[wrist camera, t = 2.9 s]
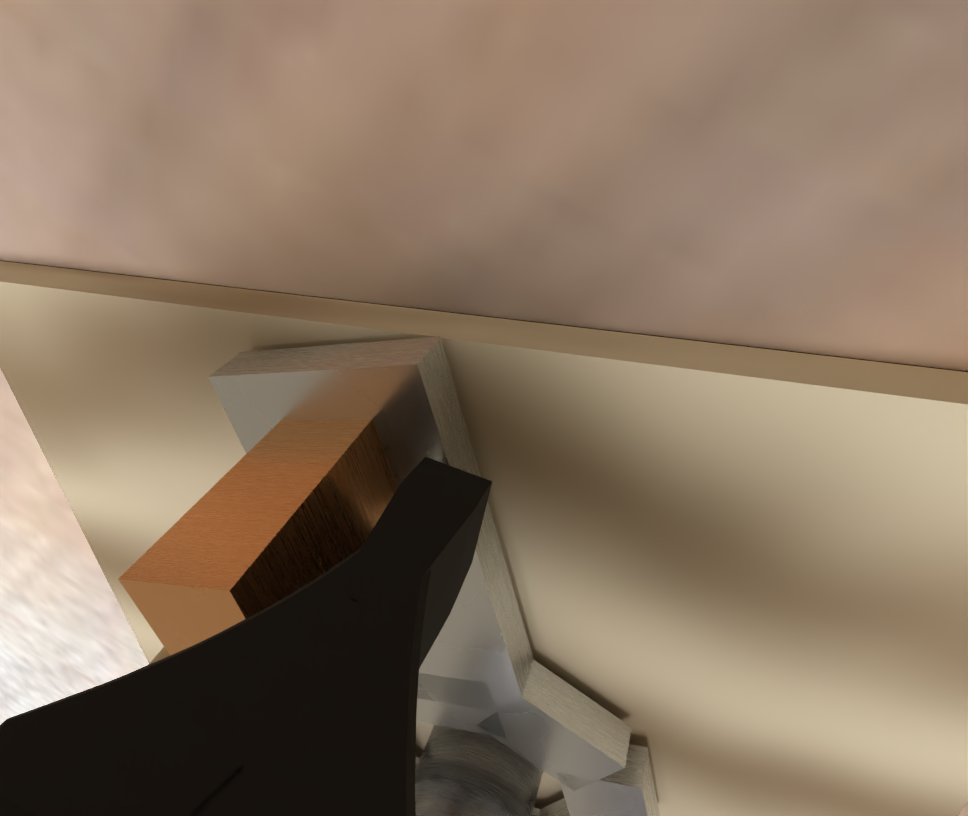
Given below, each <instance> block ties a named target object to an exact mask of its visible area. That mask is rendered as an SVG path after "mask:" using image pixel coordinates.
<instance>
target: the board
mask: <svg viewBox="0 0 968 816" xmlns="http://www.w3.org/2000/svg"><path fill="white" fill-rule="evenodd" d="M428 337H441V340H442V344H443V347H444V351H445V354H446V358H447V361H448V364H449V368H450V371H451V375H452V378H453V382H454V385H455V389H456V392H457V396H458V399H459V403H460V406H461V409H462V413H463V416H464V420H465V423H466V427H467V430H468V434H469V437H470V441H471V444H472V448H473V451H474V454H475V458H476V461H477V465H478V468H479V472H480V475H481V477H482V478H485V479H487V480H490V481H492V485H491V489H490V493H489V497H488V503H489V506H490V510H491V513H492V517H493V520H494V524H495V527H496V531H497V534H498V538H499V541H500V544H501V548H502V551H503V555H504V558H505V562H506V565H507V569H508V572H509V576H510V579H511V583H512V586H513V589H514V593H515V596H516V600H517V603H518V607H519V610H520V614H521V617H522V621H523V624H524V627H525V631H526V634H527V638H528V641H529V645H530V648H531V652H532V655H533V659H534V660H535V661H536V662H538V663H539V664H541V665H542V666H544V667H545V668H547V669H548V670H549V671H551V672H552V673H554V674H555V675H557V676H558V677H560V678H561V679H563V680H564V681H565V682H567V683H568V684H570V685H571V686H573V687H574V688H576V689H577V690H578V691H580V692H581V693H583V694H584V695H586V696H587V697H589V698H590V699H592V700H593V701H594V702H596V703H597V704H599V705H600V706H602V707H603V708H605V709H606V710H608V711H609V712H610V713H612V714H613V715H615V716H616V717H618V718H619V719H621V720H622V721H623V722H625V723H626V724H628V725H629V726H631V733H630V740H629V744H631V745H637V746H643V747H648V753H649V758H650V764H651V769H652V775H653V780H654V786H655V791H656V797H657V802H658V808H659V813H660V816H958V814H959V813H960V812H961V810H962V809H963V808H964V806H965V805H966V803H967V802H968V372H961V371H952V370H943V369H935V368H926V367H917V366H909V365H900V364H891V363H883V362H874V361H865V360H857V359H848V358H839V357H831V356H822V355H813V354H804V353H796V352H787V351H778V350H770V349H761V348H752V347H744V346H735V345H726V344H718V343H709V342H700V341H692V340H683V339H674V338H666V337H657V336H648V335H640V334H631V333H622V332H613V331H605V330H596V329H587V328H579V327H570V326H561V325H553V324H544V323H535V322H527V321H518V320H509V319H501V318H492V317H483V316H475V315H466V314H457V313H448V312H440V311H431V310H422V309H414V308H405V307H396V306H388V305H379V304H370V303H362V302H353V301H344V300H336V299H327V298H318V297H310V296H301V295H292V294H284V293H275V292H266V291H257V290H249V289H240V288H231V287H223V286H214V285H205V284H197V283H188V282H179V281H171V280H162V279H153V278H145V277H136V276H127V275H119V274H110V273H101V272H92V271H84V270H75V269H66V268H58V267H49V266H40V265H32V264H23V263H14V262H6V261H0V368H1V370H2V372H3V374H4V376H5V378H6V380H7V382H8V384H9V386H10V388H11V390H12V392H13V394H14V396H15V397H16V399H17V401H18V403H19V405H20V407H21V409H22V411H23V413H24V415H25V417H26V419H27V421H28V423H29V425H30V427H31V429H32V431H33V433H34V435H35V437H36V439H37V441H38V443H39V445H40V447H41V449H42V451H43V453H44V455H45V457H46V459H47V461H48V463H49V465H50V467H51V469H52V471H53V473H54V475H55V477H56V479H57V481H58V483H59V485H60V487H61V489H62V491H63V493H64V495H65V497H66V499H67V501H68V503H69V505H70V507H71V509H72V511H73V513H74V515H75V517H76V519H77V521H78V523H79V525H80V527H81V529H82V531H83V533H84V535H85V537H86V539H87V541H88V543H89V545H90V547H91V549H92V551H93V553H94V555H95V557H96V559H97V561H98V563H99V565H100V567H101V569H102V571H103V573H104V575H105V577H106V579H107V581H108V583H109V585H110V587H111V589H112V590H113V592H114V594H115V596H116V598H117V600H118V602H119V604H120V606H121V608H122V610H123V612H124V614H125V616H126V618H127V620H128V622H129V624H130V626H131V628H132V630H133V632H134V634H135V636H136V638H137V640H138V642H139V644H140V646H141V648H142V650H143V652H144V654H145V656H146V658H147V660H148V662H149V663H150V662H151V661H152V660H153V659H154V658H155V656H156V655H157V654H158V653H159V652H160V651H161V649H162V648H163V647H164V646H163V644H162V643H161V641H160V640H159V638H158V637H157V635H156V634H155V632H154V631H153V630H152V628H151V627H150V625H149V624H148V622H147V621H146V619H145V618H144V616H143V615H142V613H141V612H140V610H139V609H138V608H137V606H136V605H135V603H134V602H133V600H132V599H131V597H130V596H129V594H128V593H127V591H126V590H125V589H124V587H123V586H122V584H121V583H120V581H119V580H118V579H119V578H120V577H121V576H122V575H123V574H124V573H125V572H126V571H127V570H128V569H129V568H130V567H131V566H132V565H133V564H134V563H135V562H136V561H137V560H138V559H139V558H140V557H141V556H142V555H143V554H144V553H145V552H146V551H147V550H148V549H149V548H150V547H151V546H152V545H154V544H155V543H156V542H157V541H158V540H159V539H160V538H161V537H162V536H163V535H164V534H165V533H166V532H167V531H168V530H169V529H170V528H171V527H172V526H173V525H174V524H175V523H176V522H177V521H178V520H179V519H180V518H181V517H182V516H183V515H184V514H185V513H186V512H187V511H188V510H189V509H190V508H191V507H192V506H194V505H195V504H196V503H197V502H198V501H199V500H200V499H201V498H202V497H203V496H204V495H205V494H206V493H207V492H208V491H209V490H210V489H211V488H212V487H213V486H214V485H215V484H216V483H217V482H218V481H219V480H220V479H221V478H222V477H223V476H224V475H225V474H226V473H227V472H228V471H229V470H230V469H231V468H232V467H234V466H235V465H236V464H237V463H238V462H239V461H240V460H241V459H242V458H243V457H244V456H245V455H246V453H245V450H244V448H243V446H242V444H241V442H240V440H239V438H238V436H237V434H236V432H235V430H234V428H233V426H232V424H231V422H230V420H229V418H228V416H227V414H226V412H225V410H224V408H223V406H222V404H221V402H220V400H219V398H218V396H217V394H216V392H215V390H214V388H213V386H212V383H211V381H210V379H209V376H210V375H211V374H213V373H214V372H215V371H217V370H218V369H219V368H221V367H222V366H223V365H225V364H226V363H227V362H228V361H230V360H231V359H232V358H234V357H235V356H236V355H238V354H239V353H240V352H246V351H259V350H272V349H285V348H298V347H311V346H324V345H337V344H350V343H363V342H376V341H389V340H402V339H415V338H428ZM433 727H434V725H433V724H427V723H422V722H416V755H417V757H419V758H421V755H422V753H423V751H424V748H425V746H426V743H427V741H428V739H429V736H430V734H431V731H432V729H433ZM563 798H564V794H563V791H562V788H561V784H560V782H559V781H558V780H556V779H555V778H553V777H552V776H550V775H549V774H547V773H546V772H544V771H543V774H542V777H541V781H540V785H539V789H538V793H537V797H536V801H535V805H534V808H538V809H541V808H543V807H545V806H547V805H550V804H552V803H554V802H556V801H559V800H561V799H563Z"/></svg>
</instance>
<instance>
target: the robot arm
mask: <svg viewBox="0 0 968 816" xmlns="http://www.w3.org/2000/svg"><path fill="white" fill-rule="evenodd" d="M491 485H492V481H490V480H487V479H485V478H482V477H479V476H477V475H474V474H471V473H468V472H466V471H463V470H460V469H458V468H455V467H452V466H450V465H447V464H444V463H441V462H439V461H436V460H433V459H431V458H428V457H425V458H424V459H423V460H422V461H421V462H420V463H419V464H418V465H417V466H416V467H415V468H414V469H413V470H412V471H411V472H410V473H409V475H408V476H407V477H406V478H405V479H404V480H403V481H402V482H401V484H400V486H399V487H398V489H397V490H396V492H395V494H394V495H393V497H392V498H391V500H390V502H389V503H388V505H387V507H386V508H385V510H384V511H383V513H382V515H381V516H380V518H379V520H378V521H377V523H376V525H375V526H374V528H373V530H372V531H371V533H370V535H369V536H368V538H367V540H366V541H365V543H364V545H363V546H362V547H361V548H360V549H358V550H357V551H355V552H354V553H352V554H351V555H350V556H348V557H347V558H345V559H344V560H342V561H341V562H339V563H338V564H337V565H335V566H334V567H332V568H331V569H329V570H328V571H326V572H325V573H323V574H322V575H320V576H319V577H317V578H316V579H314V580H312V581H311V582H309V583H308V584H306V585H305V586H303V587H301V588H300V589H298V590H296V591H295V592H293V593H291V594H290V595H288V596H286V597H285V598H283V599H281V600H279V601H278V602H276V603H274V604H272V605H271V606H269V607H267V608H265V609H264V610H262V611H260V612H258V613H256V614H254V615H252V616H250V617H249V618H247V619H245V620H243V621H241V622H239V623H237V624H235V625H233V626H231V627H230V628H228V629H226V630H224V631H222V632H220V633H218V634H216V635H214V636H212V637H210V638H208V639H206V640H204V641H201V642H199V643H197V644H195V645H193V646H191V647H189V648H186V649H184V650H182V651H179V652H177V653H175V654H173V655H170V656H168V657H166V658H163V659H161V660H159V661H157V662H154V663H152V664H150V665H147V666H145V667H143V668H141V669H138V670H136V671H134V672H131V673H129V674H127V675H124V676H122V677H119V678H117V679H114V680H112V681H110V682H107V683H105V684H102V685H99V686H96V687H94V688H91V689H88V690H86V691H83V692H80V693H77V694H75V695H72V696H69V697H66V698H64V699H61V700H58V701H56V702H53V703H50V704H47V705H45V706H42V707H39V708H36V709H34V710H31V711H28V712H25V713H22V714H20V715H17V716H14V717H11V718H9V719H7V720H6V721H4V722H3V723H2V724H1V725H0V816H416V810H415V762H416V712H417V693H418V676H419V668H420V667H421V665H422V663H423V661H424V659H425V658H426V656H427V654H428V652H429V651H430V649H431V647H432V645H433V643H434V642H435V640H436V638H437V636H438V635H439V633H440V631H441V629H442V627H443V626H444V624H445V622H446V620H447V618H448V617H449V615H450V613H451V610H452V608H453V606H454V604H455V601H456V599H457V597H458V594H459V592H460V590H461V587H462V585H463V583H464V580H465V578H466V576H467V573H468V571H469V569H470V566H471V564H472V561H473V557H474V553H475V549H476V545H477V541H478V537H479V533H480V529H481V525H482V521H483V517H484V513H485V509H486V505H487V501H488V497H489V493H490V489H491Z"/></svg>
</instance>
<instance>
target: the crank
mask: <svg viewBox="0 0 968 816" xmlns="http://www.w3.org/2000/svg"><path fill="white" fill-rule="evenodd" d="M209 379H210V381H211V383H212V386H213V388H214V390H215V392H216V394H217V396H218V398H219V400H220V402H221V404H222V406H223V408H224V410H225V412H226V414H227V416H228V418H229V420H230V422H231V424H232V426H233V428H234V430H235V432H236V434H237V436H238V438H239V440H240V442H241V444H242V446H243V448H244V450H245V453H246V455H245V456H244V457H243V458H242V459H241V460H240V461H239V462H238V463H237V464H236V465H235V466H234V467H232V468H231V469H230V470H229V471H228V472H227V473H226V474H225V475H224V476H223V477H222V478H221V479H220V480H219V481H218V482H217V483H216V484H215V485H214V486H213V487H212V488H211V489H210V490H209V491H208V492H207V493H206V494H205V495H204V496H203V497H202V498H201V499H200V500H199V501H198V502H197V503H196V504H195V505H194V506H192V507H191V508H190V509H189V510H188V511H187V512H186V513H185V514H184V515H183V516H182V517H181V518H180V519H179V520H178V521H177V522H176V523H175V524H174V525H173V526H172V527H171V528H170V529H169V530H168V531H167V532H166V533H165V534H164V535H163V536H162V537H161V538H160V539H159V540H158V541H157V542H156V543H155V544H154V545H152V546H151V547H150V548H149V549H148V550H147V551H146V552H145V553H144V554H143V555H142V556H141V557H140V558H139V559H138V560H137V561H136V562H135V563H134V564H133V565H132V566H131V567H130V568H129V569H128V570H127V571H126V572H125V573H124V574H123V575H122V576H121V577H120V578H119V579H118V580H119V581H120V583H121V584H122V586H123V587H124V589H125V590H126V591H127V593H128V594H129V596H130V597H131V599H132V600H133V602H134V603H135V605H136V606H137V608H138V609H139V610H140V612H141V613H142V615H143V616H144V618H145V619H146V621H147V622H148V624H149V625H150V627H151V628H152V630H153V631H154V632H155V634H156V635H157V637H158V638H159V640H160V641H161V643H162V644H163V646H164V647H165V649H166V650H167V651H168V653H169V654H170V655H173V654H175V653H177V652H179V651H182V650H184V649H186V648H189V647H191V646H193V645H195V644H197V643H199V642H201V641H204V640H206V639H208V638H210V637H212V636H214V635H216V634H218V633H220V632H222V631H224V630H226V629H228V628H230V627H231V626H233V625H235V624H237V623H239V622H241V621H243V620H245V619H247V618H249V617H250V616H252V615H254V614H256V613H258V612H260V611H262V610H264V609H265V608H267V607H269V606H271V605H272V604H274V603H276V602H278V601H279V600H281V599H283V598H285V597H286V596H288V595H290V594H291V593H293V592H295V591H296V590H298V589H300V588H301V587H303V586H305V585H306V584H308V583H309V582H311V581H312V580H314V579H316V578H317V577H319V576H320V575H322V574H323V573H325V572H326V571H328V570H329V569H331V568H332V567H334V566H335V565H337V564H338V563H339V562H341V561H342V560H344V559H345V558H347V557H348V556H350V555H351V554H352V553H354V552H355V551H357V550H358V549H360V548H361V547H362V546H363V545H364V543H365V541H366V540H367V538H368V536H369V535H370V533H371V531H372V530H373V528H374V526H375V525H376V523H377V521H378V520H379V518H380V516H381V515H382V513H383V511H384V510H385V508H386V507H387V505H388V503H389V502H390V500H391V498H392V497H393V495H394V494H395V492H396V490H397V489H398V487H399V486H400V484H401V482H402V481H403V480H404V479H405V478H406V477H407V476H408V475H409V473H410V472H411V471H412V470H413V469H414V468H415V467H416V466H417V465H418V464H419V463H420V462H421V461H422V460H423V459H424V458H425V457H428V458H431V459H433V460H436V461H439V462H441V463H444V464H447V465H450V466H452V467H455V468H458V469H460V470H463V471H466V472H468V473H471V474H474V475H477V476H479V477H481V475H480V472H479V468H478V465H477V461H476V458H475V454H474V451H473V448H472V444H471V441H470V437H469V434H468V430H467V427H466V423H465V420H464V416H463V413H462V409H461V406H460V403H459V399H458V396H457V392H456V389H455V385H454V382H453V378H452V375H451V371H450V368H449V364H448V361H447V358H446V354H445V351H444V347H443V344H442V340H441V337H428V338H415V339H402V340H389V341H376V342H363V343H350V344H337V345H324V346H311V347H298V348H285V349H272V350H259V351H246V352H240V353H239V354H238V355H236V356H235V357H234V358H232V359H231V360H230V361H228V362H227V363H226V364H225V365H223V366H222V367H221V368H219V369H218V370H217V371H215V372H214V373H213V374H211V375H210V376H209ZM416 722H422V723H427V724H433V725H439V726H444V727H450V728H455V729H461V730H466V731H472V732H477V733H483V734H489V735H491V736H493V737H494V738H496V739H497V740H499V741H500V742H501V743H503V744H504V745H506V746H507V747H509V748H510V749H512V750H513V751H515V752H516V753H518V754H519V755H521V756H522V757H524V758H525V759H527V760H528V761H530V762H531V763H533V764H534V765H535V766H537V767H538V768H540V769H541V770H543V771H544V772H546V773H547V774H549V775H550V776H552V777H553V778H555V779H556V780H558V781H559V782H560V784H561V788H562V791H563V794H564V798H563V799H561V800H559V801H556V802H554V803H552V804H550V805H547V806H545V807H543V808H541V809H538V808H534V809H533V812H532V816H660V813H659V808H658V802H657V797H656V791H655V786H654V780H653V775H652V769H651V764H650V758H649V753H648V747H643V746H637V745H631V744H629V740H630V733H631V726H629V725H628V724H626V723H625V722H623V721H622V720H621V719H619V718H618V717H616V716H615V715H613V714H612V713H610V712H609V711H608V710H606V709H605V708H603V707H602V706H600V705H599V704H597V703H596V702H594V701H593V700H592V699H590V698H589V697H587V696H586V695H584V694H583V693H581V692H580V691H578V690H577V689H576V688H574V687H573V686H571V685H570V684H568V683H567V682H565V681H564V680H563V679H561V678H560V677H558V676H557V675H555V674H554V673H552V672H551V671H549V670H548V669H547V668H545V667H544V666H542V665H541V664H539V663H538V662H536V661H535V660H534V659H533V655H532V652H531V648H530V645H529V641H528V638H527V634H526V631H525V627H524V624H523V621H522V617H521V614H520V610H519V607H518V603H517V600H516V596H515V593H514V589H513V586H512V583H511V579H510V576H509V572H508V569H507V565H506V562H505V558H504V555H503V551H502V548H501V544H500V541H499V538H498V534H497V531H496V527H495V524H494V520H493V517H492V513H491V510H490V506H489V503H488V501H487V505H486V509H485V513H484V517H483V521H482V525H481V529H480V533H479V537H478V541H477V545H476V549H475V553H474V557H473V561H472V564H471V566H470V569H469V571H468V573H467V576H466V578H465V580H464V583H463V585H462V587H461V590H460V592H459V594H458V597H457V599H456V601H455V604H454V606H453V608H452V610H451V613H450V615H449V617H448V618H447V620H446V622H445V624H444V626H443V627H442V629H441V631H440V633H439V635H438V636H437V638H436V640H435V642H434V643H433V645H432V647H431V649H430V651H429V652H428V654H427V656H426V658H425V659H424V661H423V663H422V665H421V667H420V668H419V676H418V693H417V712H416ZM419 760H420V758H419V757H417V755H416V762H415V770H416V768H417V765H418V763H419Z"/></svg>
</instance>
